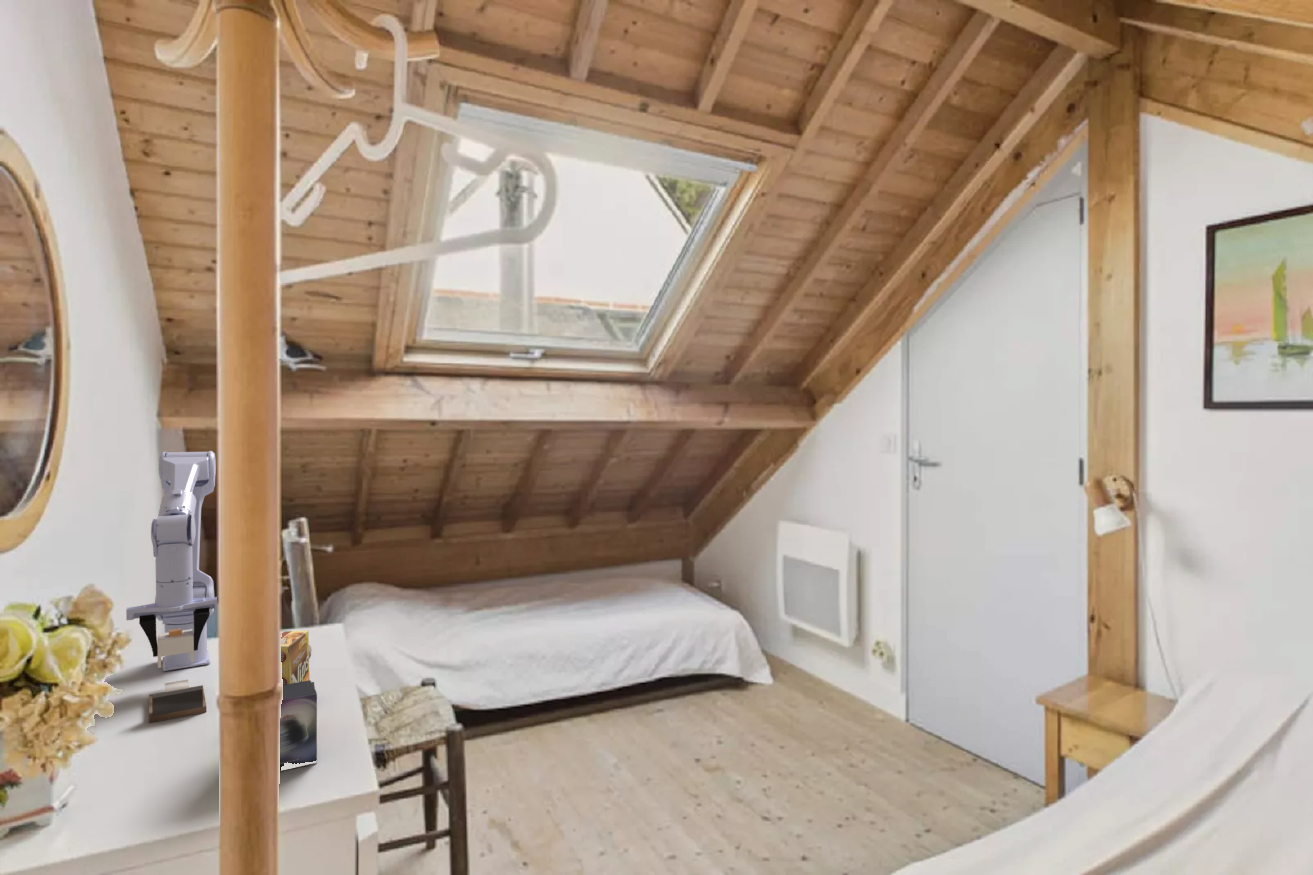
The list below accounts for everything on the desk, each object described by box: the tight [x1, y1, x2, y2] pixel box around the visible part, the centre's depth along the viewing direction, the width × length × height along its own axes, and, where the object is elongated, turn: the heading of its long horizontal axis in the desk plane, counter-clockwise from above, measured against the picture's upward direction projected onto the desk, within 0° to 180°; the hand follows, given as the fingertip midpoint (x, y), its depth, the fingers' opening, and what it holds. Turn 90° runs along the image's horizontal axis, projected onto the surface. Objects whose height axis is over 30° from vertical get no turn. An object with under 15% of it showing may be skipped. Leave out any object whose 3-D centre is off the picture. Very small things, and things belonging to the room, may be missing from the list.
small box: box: [280, 679, 318, 772], centre depth 103 cm, size 11×6×10 cm, turn 123°
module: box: [156, 629, 194, 669], centre depth 134 cm, size 5×6×6 cm
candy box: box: [281, 630, 310, 685], centre depth 113 cm, size 9×4×15 cm, turn 8°
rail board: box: [148, 679, 207, 724], centre depth 125 cm, size 12×8×4 cm, turn 35°
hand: (175, 652), depth 134 cm, fingers closed on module, 5 cm apart
